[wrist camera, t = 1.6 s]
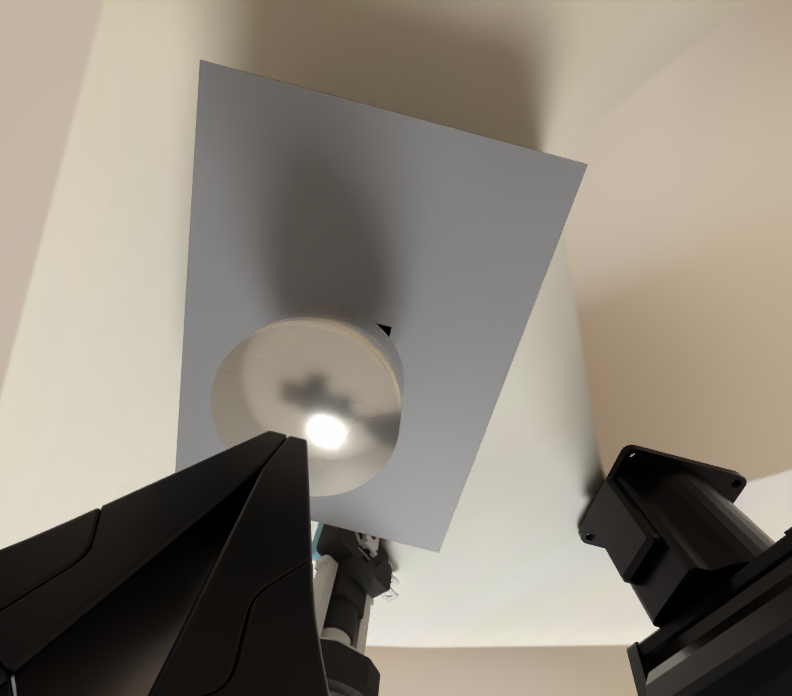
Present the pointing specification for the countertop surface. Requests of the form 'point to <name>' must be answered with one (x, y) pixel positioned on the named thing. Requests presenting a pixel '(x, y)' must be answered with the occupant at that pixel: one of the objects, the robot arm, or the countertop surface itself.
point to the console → (368, 268)
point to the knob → (316, 392)
